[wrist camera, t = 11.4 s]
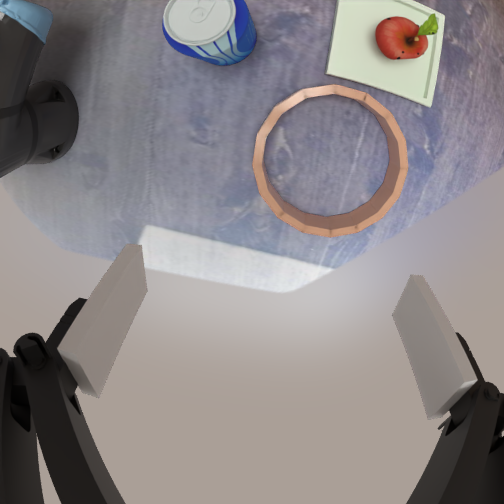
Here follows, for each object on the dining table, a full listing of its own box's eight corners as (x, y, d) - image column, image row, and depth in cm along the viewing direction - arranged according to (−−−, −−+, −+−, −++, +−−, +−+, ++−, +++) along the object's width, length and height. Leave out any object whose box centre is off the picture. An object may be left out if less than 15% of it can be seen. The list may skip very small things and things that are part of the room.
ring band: (246, 210, 46) (243, 222, 43) (268, 72, 35) (267, 70, 31) (373, 233, 47) (381, 247, 43) (409, 109, 36) (423, 112, 32)
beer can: (266, 52, 34) (261, 31, 20) (210, 75, 36) (174, 70, 22) (242, 4, 30) (223, -37, 16) (187, 28, 32) (141, 3, 18)
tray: (324, 74, 35) (326, 73, 33) (339, -20, 26) (342, -25, 25) (424, 106, 35) (430, 107, 33) (438, 17, 26) (444, 15, 25)
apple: (404, 72, 32) (437, 71, 24) (361, 52, 32) (386, 44, 23) (416, 30, 28) (450, 20, 20) (374, 9, 28) (400, -9, 19)
